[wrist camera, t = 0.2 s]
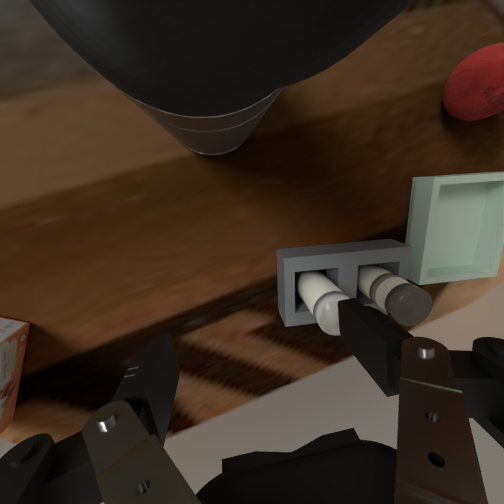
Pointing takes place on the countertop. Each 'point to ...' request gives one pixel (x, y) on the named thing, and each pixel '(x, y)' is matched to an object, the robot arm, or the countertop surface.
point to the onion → (477, 85)
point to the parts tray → (455, 227)
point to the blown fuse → (394, 294)
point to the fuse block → (335, 271)
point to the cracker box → (11, 365)
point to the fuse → (320, 298)
